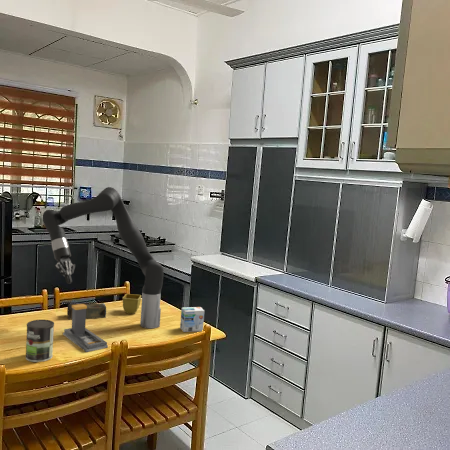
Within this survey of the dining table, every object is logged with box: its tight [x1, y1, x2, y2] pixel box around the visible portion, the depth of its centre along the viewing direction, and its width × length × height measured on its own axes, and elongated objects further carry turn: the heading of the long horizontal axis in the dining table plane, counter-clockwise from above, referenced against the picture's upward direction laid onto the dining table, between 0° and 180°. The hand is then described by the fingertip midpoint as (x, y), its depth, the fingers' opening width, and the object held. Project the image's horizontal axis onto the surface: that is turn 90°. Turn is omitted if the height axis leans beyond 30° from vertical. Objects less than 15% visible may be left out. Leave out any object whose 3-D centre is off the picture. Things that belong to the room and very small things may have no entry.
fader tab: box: [71, 303, 87, 335], centre depth 210 cm, size 4×5×13 cm
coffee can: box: [25, 319, 55, 363], centre depth 185 cm, size 10×10×14 cm
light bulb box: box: [179, 306, 205, 333], centre depth 232 cm, size 11×7×11 cm, turn 112°
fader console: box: [62, 327, 109, 353], centre depth 206 cm, size 24×10×2 cm, turn 42°
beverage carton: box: [66, 302, 107, 320], centre depth 239 cm, size 8×19×7 cm, turn 113°
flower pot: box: [122, 293, 142, 315], centre depth 252 cm, size 9×9×9 cm
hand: (69, 283), depth 218 cm, fingers closed
